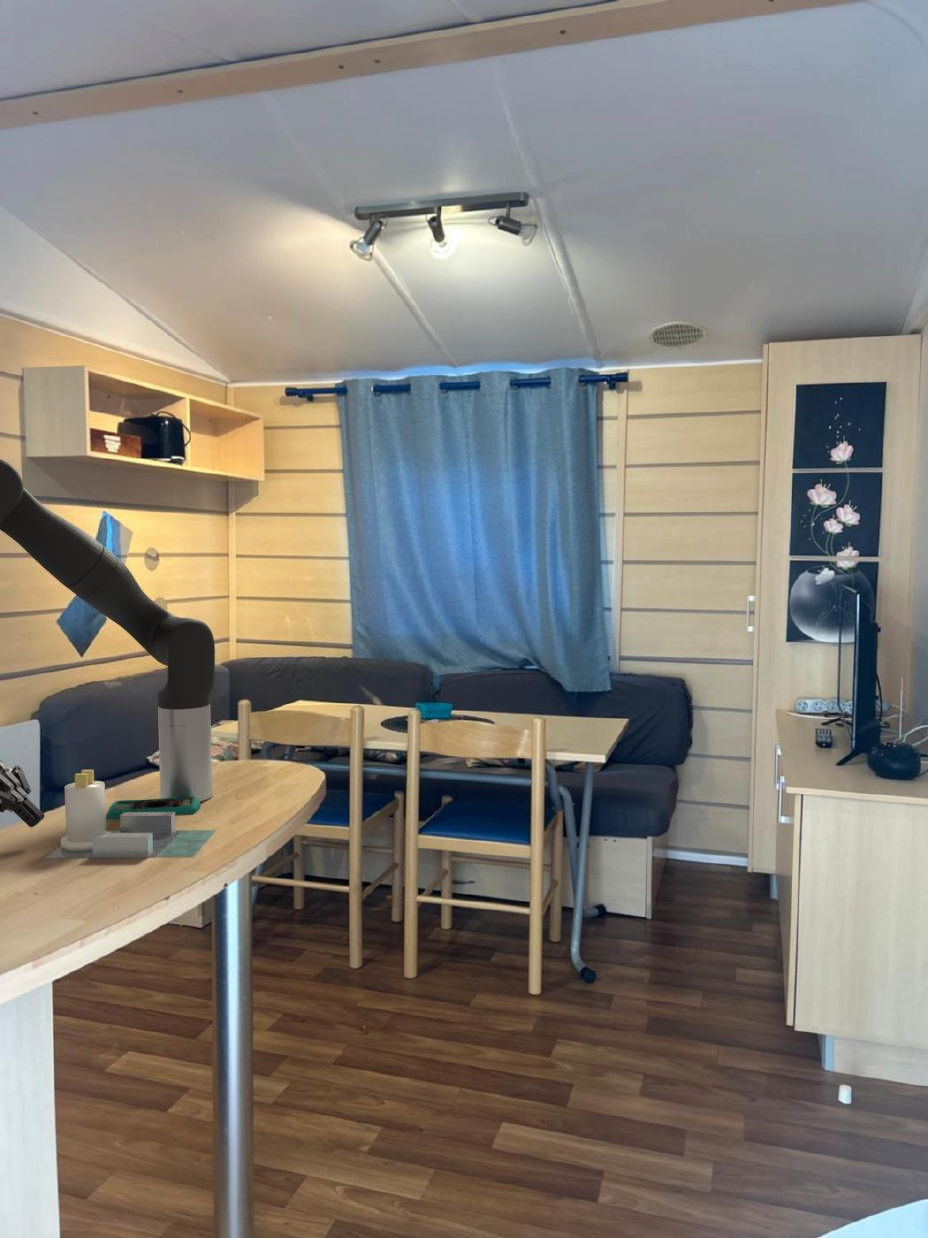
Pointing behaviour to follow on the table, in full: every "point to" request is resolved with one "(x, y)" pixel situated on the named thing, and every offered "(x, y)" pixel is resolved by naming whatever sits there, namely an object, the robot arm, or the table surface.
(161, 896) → the table surface
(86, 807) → the plug
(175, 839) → the housing
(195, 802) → the digital multimeter
